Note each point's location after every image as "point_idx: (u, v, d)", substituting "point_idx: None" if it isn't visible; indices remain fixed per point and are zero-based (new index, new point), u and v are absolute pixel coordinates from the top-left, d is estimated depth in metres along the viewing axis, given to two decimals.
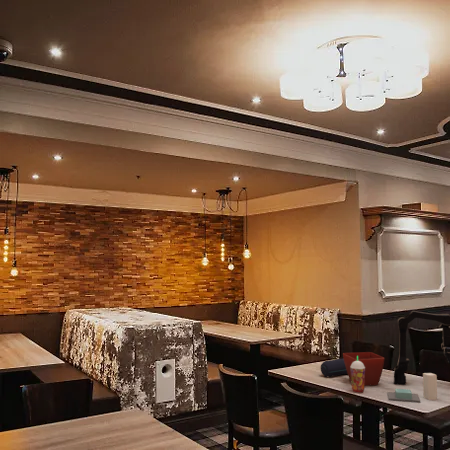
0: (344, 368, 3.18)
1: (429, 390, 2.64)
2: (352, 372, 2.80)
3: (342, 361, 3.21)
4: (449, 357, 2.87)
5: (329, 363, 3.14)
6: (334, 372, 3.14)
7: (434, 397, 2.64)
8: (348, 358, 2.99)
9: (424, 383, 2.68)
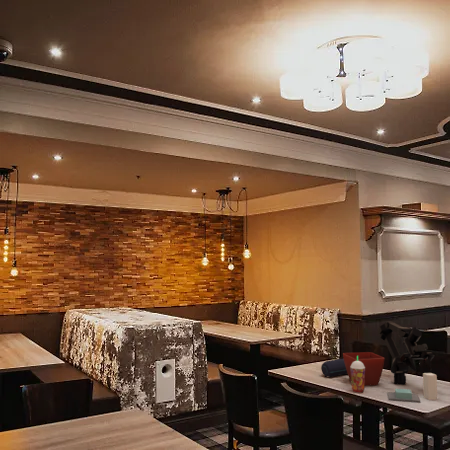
0: (345, 368, 3.18)
1: (429, 390, 2.64)
2: (352, 372, 2.80)
3: (343, 361, 3.20)
4: (410, 365, 2.77)
5: (330, 363, 3.14)
6: (335, 372, 3.13)
7: (434, 397, 2.64)
8: (348, 358, 2.99)
9: (424, 383, 2.68)
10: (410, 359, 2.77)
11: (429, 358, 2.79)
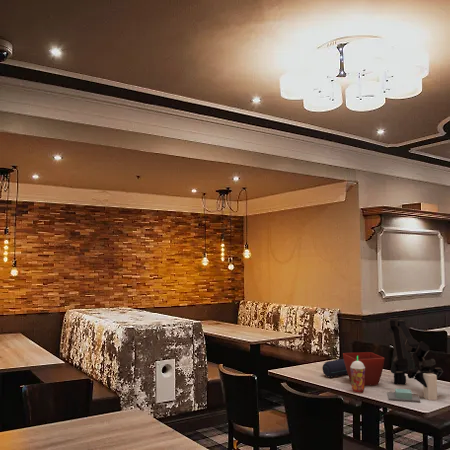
0: None
1: (429, 390, 2.64)
2: (352, 372, 2.80)
3: None
4: (421, 381, 2.68)
5: (331, 363, 3.13)
6: (336, 372, 3.13)
7: (434, 397, 2.64)
8: (348, 358, 2.99)
9: None
10: (420, 375, 2.68)
11: None
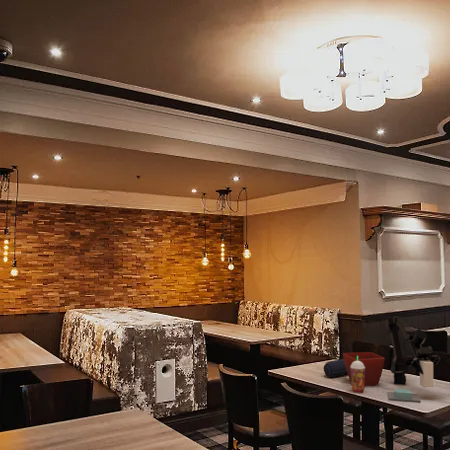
0: None
1: (425, 378, 2.64)
2: (352, 372, 2.80)
3: None
4: (418, 368, 2.69)
5: (333, 364, 3.13)
6: (338, 372, 3.12)
7: (430, 384, 2.64)
8: (348, 358, 2.99)
9: None
10: (417, 362, 2.69)
11: (431, 361, 2.69)
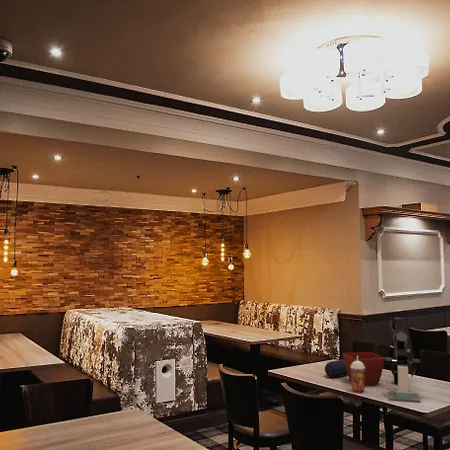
0: None
1: (399, 382, 2.65)
2: (352, 372, 2.80)
3: None
4: (391, 369, 2.71)
5: (334, 364, 3.12)
6: (339, 373, 3.12)
7: (405, 389, 2.64)
8: (348, 358, 2.99)
9: None
10: (390, 363, 2.71)
11: (413, 364, 2.68)
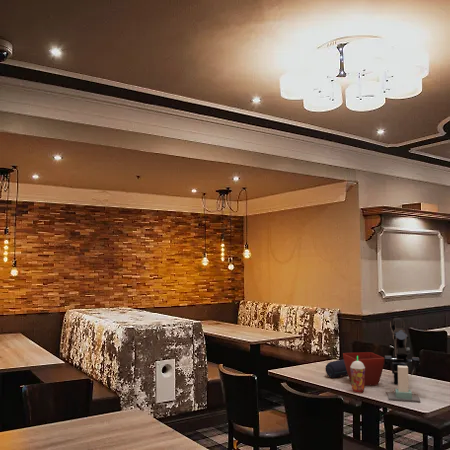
0: None
1: (399, 382, 2.65)
2: (352, 372, 2.80)
3: None
4: (391, 367, 2.74)
5: (335, 364, 3.12)
6: (340, 373, 3.12)
7: (405, 389, 2.64)
8: (348, 358, 2.99)
9: None
10: (390, 362, 2.74)
11: (413, 363, 2.71)
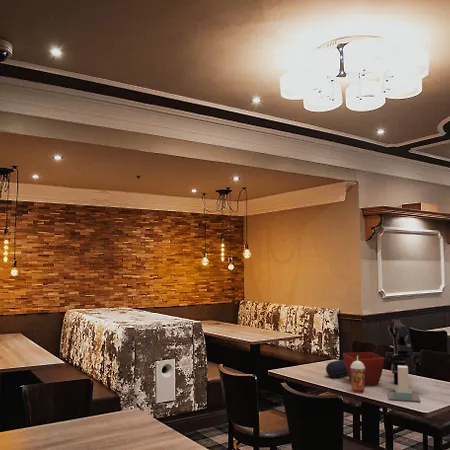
0: None
1: (399, 382, 2.65)
2: (352, 372, 2.80)
3: None
4: (393, 364, 2.80)
5: (335, 364, 3.12)
6: (340, 373, 3.11)
7: (405, 389, 2.64)
8: (348, 358, 2.99)
9: None
10: (392, 358, 2.80)
11: (414, 358, 2.77)
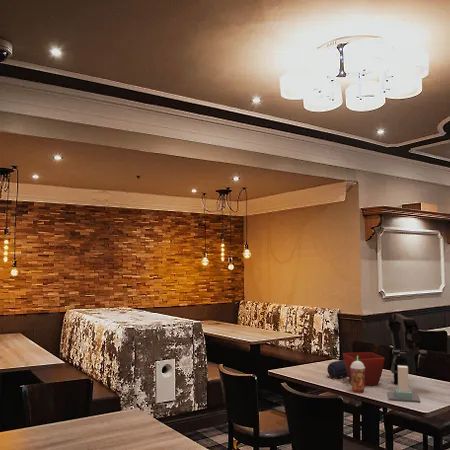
0: None
1: (399, 382, 2.65)
2: (352, 372, 2.80)
3: None
4: (399, 360, 2.86)
5: (337, 364, 3.11)
6: (342, 373, 3.11)
7: (405, 389, 2.64)
8: (348, 358, 2.99)
9: None
10: (398, 357, 2.84)
11: (420, 358, 2.80)
